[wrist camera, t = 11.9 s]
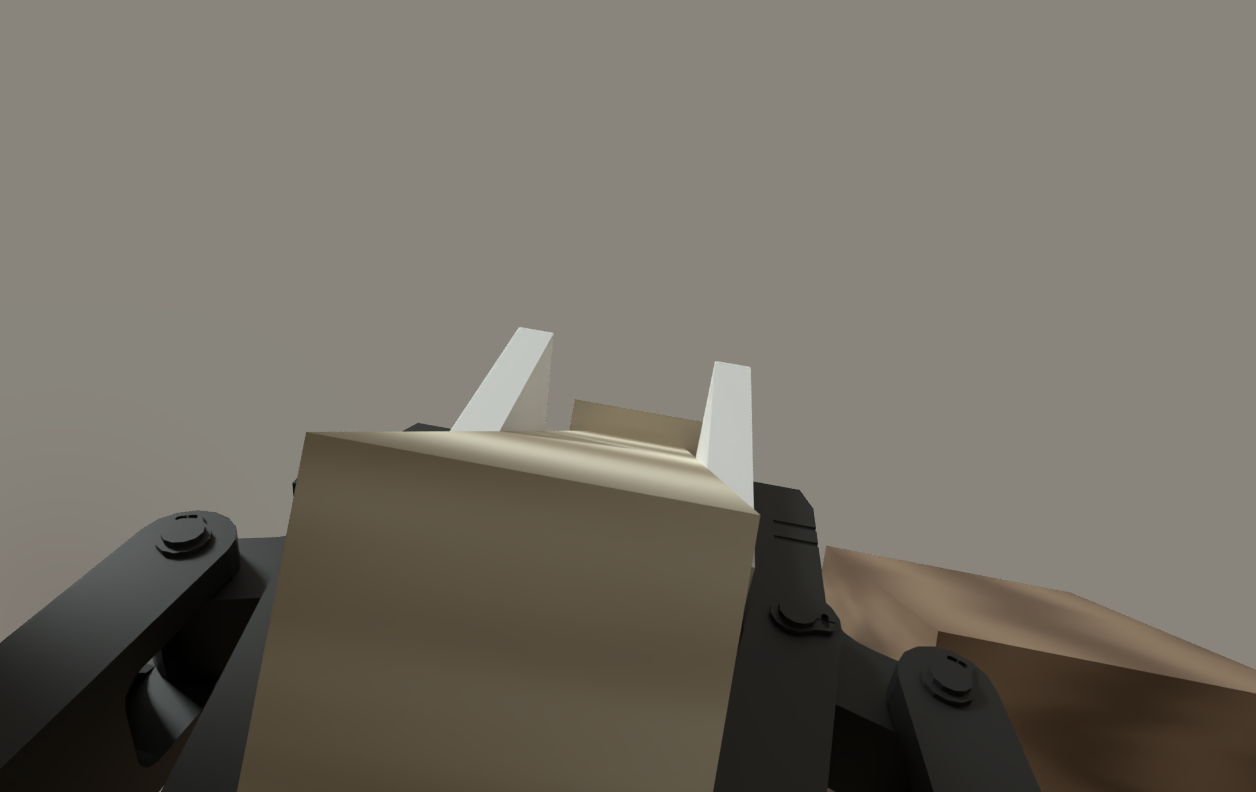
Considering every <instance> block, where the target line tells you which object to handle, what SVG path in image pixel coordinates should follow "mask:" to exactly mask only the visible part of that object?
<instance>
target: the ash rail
mask: <svg viewBox="0 0 1256 792" xmlns="http://www.w3.org/2000/svg"><path fill="white" fill-rule="evenodd" d="M702 424H703V422H699V421H694V420H688V419H683V418H677V417H672V416H666V415H660V414H654V413H649V412H643V411H638V410H632V409H626V408H620V407H615V406H609V405H604V404H598V403H592V402H587V401H581V400H575V403H574V408H573V413H572V419H571V425H570V430H569V431H429V432H306V436H305V441H304V446H303V451H302V456H301V462H300V467H299V472H298V477H297V482H296V488H295V493H294V498H293V503H292V509H291V514H290V519H289V524H288V529H287V534H286V540H285V545H284V550H283V555H282V560H281V565H280V571H279V576H278V581H277V586H276V591H275V597H274V602H273V607H272V612H271V617H270V623H269V628H268V633H267V638H266V643H265V649H264V654H263V659H262V664H261V669H260V675H259V680H258V685H257V690H256V695H255V701H254V706H253V711H252V716H251V721H250V727H249V732H248V737H247V742H246V747H245V753H244V758H243V763H242V768H241V773H240V779H239V784H238V789H237V792H713V789H714V783H715V777H716V772H717V766H718V760H719V754H720V748H721V742H722V736H723V731H724V725H725V719H726V713H727V707H728V701H729V696H730V690H731V684H732V678H733V672H734V666H735V660H736V655H737V649H738V643H739V637H740V631H741V625H742V620H743V614H744V608H745V602H746V596H747V590H748V585H749V579H750V573H751V567H752V561H753V555H754V549H755V544H756V538H757V532H758V526H759V520H760V514H759V513H757V512H756V511H755V510H754V509H753V508H752V507H751V506H750V505H748V504H747V503H746V502H745V501H744V500H743V499H742V498H741V497H739V496H738V495H737V494H736V493H735V492H734V491H733V490H731V489H730V488H729V487H728V486H727V485H726V484H725V483H724V482H722V481H721V480H720V479H719V478H718V477H717V476H716V475H714V474H713V473H712V472H711V471H710V470H709V469H707V468H706V467H705V466H704V465H702V464H701V463H700V462H699V461H698V460H697V459H696V454H697V449H698V444H699V439H700V434H701V429H702Z"/></svg>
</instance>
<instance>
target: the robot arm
mask: <svg viewBox="0 0 1256 792" xmlns="http://www.w3.org/2000/svg"><path fill="white" fill-rule="evenodd" d="M553 334H554V333H550V332H544V331H539V330H533V329H527V328H521V327H519V328H518V330H517V331H516V333H515V334H514V336H513V337H512V339H511V340H510V342H509V343H508V345H507V346H506V348H505V349H504V351H503V352H502V354H501V355H500V357H499V358H498V360H497V361H496V363H495V364H494V366H493V367H492V369H491V371H490V372H489V374H488V375H487V376H486V378H485V379H484V381H483V382H482V384H481V386H480V387H479V388H478V390H477V391H476V393H475V394H474V396H473V398H472V399H471V400H470V402H469V403H468V405H467V406H466V408H465V409H464V411H463V412H462V414H461V415H460V417H459V418H458V420H457V422H456V423H455V424H454V426H453V427H452V429H449V428H443V427H437V426H432V425H426V424H420V423H417V424H415V425H413V426H411V427H410V428H408V429H406V430H404V431H402V432H429V431H545V422H546V411H547V399H548V389H549V378H550V368H551V357H552V346H553ZM696 459H697V460H698V461H699V462H700V463H701V464H702V465H704V466H705V467H706V468H707V469H709V470H710V471H711V472H712V473H713V474H714V475H716V476H717V477H718V478H719V479H720V480H721V481H722V482H724V483H725V484H726V485H727V486H728V487H729V488H730V489H731V490H733V491H734V492H735V493H736V494H737V495H738V496H739V497H741V498H742V499H743V500H744V501H745V502H746V503H747V504H748V505H750V506H751V507H752V508H753V509H754V510H755V511H756V512H757V513H759V514H760V520H759V526H758V532H757V538H756V544H755V549H754V555H753V561H752V567H751V573H750V579H749V585H748V590H747V596H746V602H745V608H744V614H743V620H742V625H741V631H740V637H739V643H738V649H737V655H736V660H735V666H734V672H733V678H732V684H731V690H730V696H729V701H728V707H727V713H726V719H725V725H724V731H723V736H722V742H721V748H720V754H719V760H718V766H717V772H716V777H715V783H714V789H713V792H827V789H828V788H829V789H831V790H833V791H835V792H1041V790H1040V788H1039V785H1038V783H1037V781H1036V779H1035V776H1034V774H1033V772H1032V770H1031V767H1030V765H1029V763H1028V760H1027V758H1026V756H1025V754H1024V751H1023V749H1022V747H1021V744H1020V742H1019V740H1018V738H1017V735H1016V733H1015V731H1014V729H1013V726H1012V724H1011V722H1010V719H1009V717H1008V715H1007V713H1006V710H1005V708H1004V706H1003V703H1002V701H1001V699H1000V697H999V694H998V692H997V690H996V689H995V687H994V686H993V684H992V683H991V681H990V680H989V678H988V676H987V675H986V674H985V673H984V672H982V671H981V670H980V669H979V668H978V667H977V666H976V665H974V664H973V663H972V662H971V661H969V660H967V659H965V658H963V657H962V656H960V655H958V654H956V653H954V652H952V651H949V650H945V649H941V648H938V647H934V646H917V647H914V648H912V649H910V650H907V651H905V652H904V653H903V655H902V656H901V658H900V659H899V661H897V660H895V659H892V658H890V657H888V656H885V655H883V654H881V653H879V652H876V651H874V650H872V649H870V648H868V647H866V646H864V645H862V644H860V643H858V642H857V641H855V640H854V639H853V638H851V637H850V636H848V635H847V634H846V633H845V632H844V631H843V630H842V628H841V622H840V619H839V618H838V616H837V615H836V613H835V612H834V610H833V609H832V607H831V606H829V605H828V604H827V603H826V598H825V591H824V584H823V577H822V569H821V562H820V555H819V548H818V547H817V545H818V540H817V533H816V531H815V529H816V526H815V519H814V511H813V508H812V506H811V505H810V504H809V503H808V501H807V500H806V498H805V497H804V496H803V494H802V493H801V491H800V490H796V489H791V488H785V487H780V486H774V485H769V484H763V483H758V482H753V453H752V409H751V367H747V366H741V365H735V364H729V363H723V362H718V361H715V365H714V369H713V374H712V379H711V384H710V389H709V394H708V400H707V404H706V410H705V414H704V419H703V424H702V429H701V434H700V439H699V444H698V449H697V454H696ZM296 482H297V479H296V480H295V481H294V482H293V495H294V493H295V488H296ZM285 540H286V536H283V537H275V538H274V537H273V538H247V539H246V538H244V539H238V537H237V529H236V526H235V525H234V524H233V523H232V521H231V520H230V519H229V518H228V517H225V516H223V515H221V514H218V513H216V512H207V511H189V512H181V513H176V514H173V515H170V516H167V517H163V518H160V519H158V520H156V521H154V522H153V523H151V524H149V525H148V526H146V527H144V528H143V529H141V530H140V531H139V532H138V533H136V534H135V535H134V536H133V537H132V538H130V539H129V540H128V541H126V542H125V543H124V544H123V545H121V546H120V547H119V548H118V549H116V550H115V551H114V552H113V553H111V554H110V555H109V556H108V557H107V558H105V559H104V560H103V561H101V562H100V563H99V564H98V565H96V566H95V567H94V568H93V569H92V570H90V571H89V572H88V573H87V574H85V575H84V576H83V577H82V578H80V579H79V580H78V581H77V582H75V583H74V584H73V585H72V586H70V587H69V588H68V589H67V590H65V591H64V592H63V593H62V594H60V595H59V596H58V597H57V598H56V599H54V600H53V601H52V602H51V603H49V604H48V605H47V606H46V607H44V608H43V609H42V610H41V611H39V612H38V613H37V614H36V615H34V616H33V617H32V618H31V619H29V620H28V621H27V622H26V623H25V624H23V625H22V626H21V627H20V628H18V629H17V630H16V631H14V632H13V633H12V634H11V635H10V636H8V637H7V638H6V639H5V640H3V641H2V642H1V643H0V792H159V791H160V790H161V788H162V787H163V786H164V787H163V789H162V791H161V792H237V789H238V784H239V779H240V773H241V768H242V763H243V758H244V753H245V747H246V742H247V737H248V732H249V727H250V721H251V716H252V711H253V706H254V701H255V695H256V690H257V685H258V680H259V675H260V669H261V664H262V659H263V654H264V649H265V643H266V638H267V633H268V628H269V623H270V617H271V612H272V607H273V602H274V597H275V591H276V586H277V581H278V576H279V571H280V565H281V560H282V555H283V550H284V545H285Z"/></svg>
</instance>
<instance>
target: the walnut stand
mask: <svg viewBox="0 0 1256 792" xmlns="http://www.w3.org/2000/svg"><path fill="white" fill-rule="evenodd" d="M822 577H823V584H824V591H825V598H826V603H827V604H828V605H829V606H831V607H832V609H833V610H834V612H835V613H836V615H837V616H838V618H839V619H840V622H841V628H842V630H843V631H844V632H845V633H846V634H847V635H848V636H850V637H851V638H853V639H854V640H855V641H857V642H858V643H860V644H862V645H864V646H866V647H868V648H870V649H872V650H874V651H876V652H879V653H881V654H883V655H885V656H888V657H890V658H892V659H895V660H897V661H899V659H900V658H901V656H902V655H903V653H904V652H905V651H907V650H910V649H912V648H914V647H917V646H934V647H938V648H941V649H945V650H949V651H952V652H954V653H956V654H958V655H960V656H962V657H963V658H965V659H967V660H969V661H971V662H972V663H973V664H974V665H976V666H977V667H978V668H979V669H980V670H981V671H982V672H984V673H985V674H986V675H987V676H988V678H989V680H990V681H991V683H992V684H993V686H994V687H995V689H996V690H997V692H998V694H999V697H1000V699H1001V701H1002V703H1003V706H1004V708H1005V710H1006V713H1007V715H1008V717H1009V719H1010V722H1011V724H1012V726H1013V729H1014V731H1015V733H1016V735H1017V738H1018V740H1019V742H1020V744H1021V747H1022V749H1023V751H1024V754H1025V756H1026V758H1027V760H1028V763H1029V765H1030V767H1031V770H1032V772H1033V774H1034V776H1035V779H1036V781H1037V783H1038V785H1039V788H1040V790H1041V792H1256V670H1255V669H1252V668H1250V667H1248V666H1245V665H1243V664H1240V663H1238V662H1235V661H1233V660H1231V659H1228V658H1226V657H1224V656H1221V655H1219V654H1216V653H1214V652H1212V651H1209V650H1207V649H1204V648H1202V647H1200V646H1197V645H1195V644H1192V643H1190V642H1188V641H1185V640H1183V639H1180V638H1178V637H1176V636H1173V635H1171V634H1168V633H1166V632H1164V631H1161V630H1159V629H1156V628H1154V627H1152V626H1149V625H1147V624H1145V623H1142V622H1140V621H1137V620H1135V619H1132V618H1130V617H1128V616H1125V615H1123V614H1121V613H1118V612H1116V611H1113V610H1111V609H1108V608H1106V607H1103V606H1101V605H1099V604H1097V603H1094V602H1092V601H1089V600H1087V599H1085V598H1082V597H1080V596H1077V595H1075V594H1072V593H1069V592H1064V591H1059V590H1053V589H1048V588H1043V587H1037V586H1033V585H1027V584H1022V583H1017V582H1012V581H1007V580H1002V579H996V578H991V577H986V576H981V575H975V574H970V573H965V572H959V571H954V570H949V569H943V568H939V567H933V566H929V565H923V564H917V563H913V562H907V561H902V560H897V559H892V558H886V557H882V556H876V555H871V554H866V553H861V552H856V551H850V550H845V549H840V548H834V547H830V546H826V551H825V556H824V562H823V567H822ZM827 792H835V791H833V790H831V789H829V788H828V789H827Z"/></svg>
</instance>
